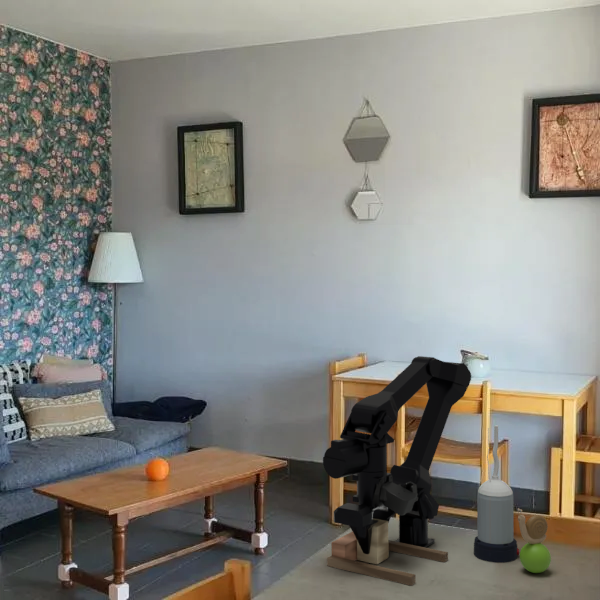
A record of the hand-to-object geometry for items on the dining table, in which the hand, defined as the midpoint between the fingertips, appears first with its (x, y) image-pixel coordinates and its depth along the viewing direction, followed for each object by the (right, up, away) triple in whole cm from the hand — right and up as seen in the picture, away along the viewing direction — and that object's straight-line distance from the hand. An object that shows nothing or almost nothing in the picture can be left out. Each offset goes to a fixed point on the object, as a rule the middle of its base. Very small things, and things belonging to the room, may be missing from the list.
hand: (372, 550), depth 153 cm
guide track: (+3, -2, -2) cm, 4 cm away
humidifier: (+24, -2, +2) cm, 24 cm away
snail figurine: (+28, -2, -8) cm, 29 cm away
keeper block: (0, -2, 0) cm, 2 cm away
